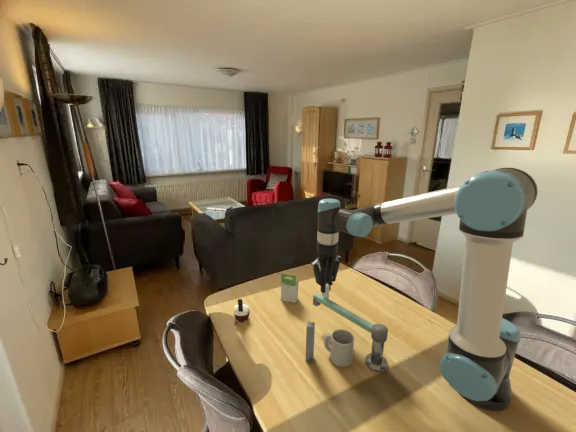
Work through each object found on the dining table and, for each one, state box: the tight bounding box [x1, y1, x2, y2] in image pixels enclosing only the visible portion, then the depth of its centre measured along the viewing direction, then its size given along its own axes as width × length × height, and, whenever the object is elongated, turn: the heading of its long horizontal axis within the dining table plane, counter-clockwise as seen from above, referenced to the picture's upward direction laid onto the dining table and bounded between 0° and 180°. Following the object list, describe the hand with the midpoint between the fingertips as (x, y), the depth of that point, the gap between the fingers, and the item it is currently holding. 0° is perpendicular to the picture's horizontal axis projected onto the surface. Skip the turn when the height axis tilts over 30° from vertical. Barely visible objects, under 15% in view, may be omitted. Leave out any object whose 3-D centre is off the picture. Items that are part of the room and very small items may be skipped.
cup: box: [323, 328, 355, 368], centre depth 93 cm, size 7×10×9 cm
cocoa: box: [233, 298, 251, 323], centre depth 112 cm, size 10×6×12 cm, turn 164°
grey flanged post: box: [364, 339, 388, 373], centre depth 91 cm, size 7×7×10 cm
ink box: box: [280, 273, 299, 304], centre depth 125 cm, size 7×4×13 cm, turn 72°
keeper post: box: [305, 321, 316, 363], centre depth 92 cm, size 2×2×14 cm
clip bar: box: [312, 292, 389, 343], centre depth 98 cm, size 30×5×5 cm, turn 41°
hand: (325, 299), depth 108 cm, fingers closed
